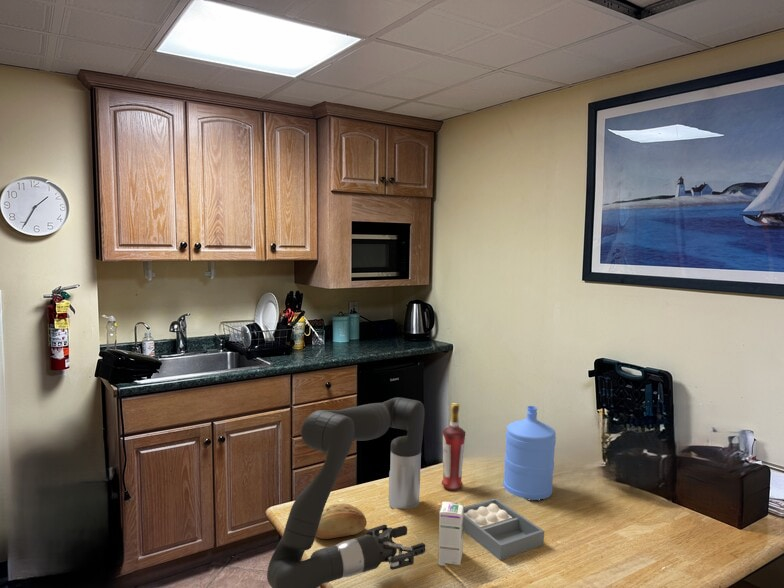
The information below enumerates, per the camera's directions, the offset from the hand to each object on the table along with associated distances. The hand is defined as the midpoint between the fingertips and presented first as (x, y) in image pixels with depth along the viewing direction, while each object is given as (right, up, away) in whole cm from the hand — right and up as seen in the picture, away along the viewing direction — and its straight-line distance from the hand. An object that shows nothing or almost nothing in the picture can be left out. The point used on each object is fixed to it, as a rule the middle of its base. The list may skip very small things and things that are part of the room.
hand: (415, 538), depth 136 cm
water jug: (+39, -5, +46) cm, 60 cm away
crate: (+23, -7, +18) cm, 30 cm away
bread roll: (-20, -7, +17) cm, 27 cm away
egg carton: (+21, -6, +22) cm, 31 cm away
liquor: (+14, -4, +47) cm, 49 cm away
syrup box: (+9, -9, +6) cm, 14 cm away
